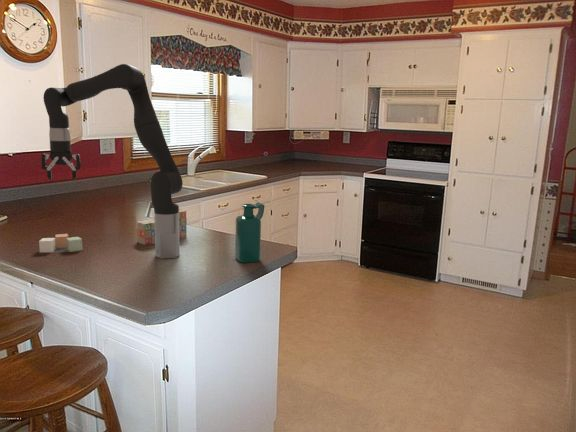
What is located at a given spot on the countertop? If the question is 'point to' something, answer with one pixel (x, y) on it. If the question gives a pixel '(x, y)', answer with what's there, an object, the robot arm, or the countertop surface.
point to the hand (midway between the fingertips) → (62, 179)
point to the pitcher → (248, 234)
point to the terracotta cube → (61, 240)
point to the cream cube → (47, 244)
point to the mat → (59, 250)
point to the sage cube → (74, 244)
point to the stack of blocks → (148, 229)
